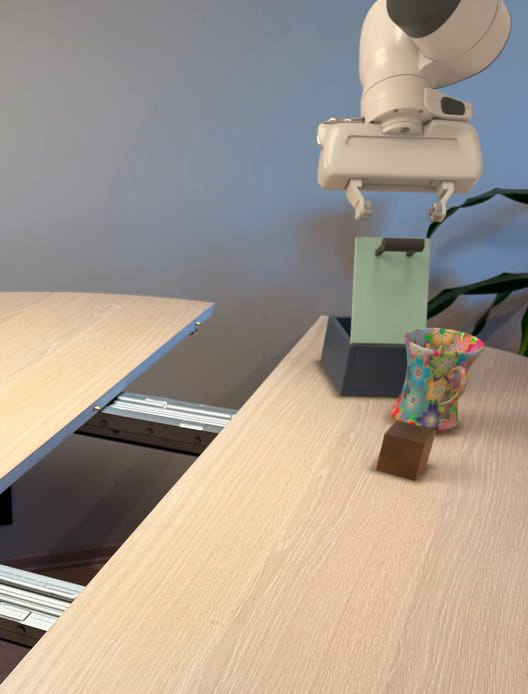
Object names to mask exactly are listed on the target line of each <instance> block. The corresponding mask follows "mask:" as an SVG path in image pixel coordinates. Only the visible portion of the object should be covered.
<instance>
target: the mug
mask: <svg viewBox="0 0 528 694" xmlns="http://www.w3.org/2000/svg"><path fill="white" fill-rule="evenodd" d="M404 338H405V344H406V349H407V373H406V379H405V383H404V386H403V389H402V392H401V394H400V396H399V397H397V399H396V400H395V402H394V403H393V404H392V405H391V407H390V410H389V411H390V415H391V417H392V418H393V419H394V420H395V421H397V420H398V421H402V422H406V423H410V424H414V425H418V426H422V427H426V428H430V429H434V430H436V432H438V431H439V432H441V431H446V430H450V429H453V428H455V427H457V425H459V423H460V421H461V417H460V414H459V399H460V397H461V396H462V395H463V394H464V392H465V391H466V388H467V385H468V373H469V371H470V369H471V367H472V366H473V364H474V363H475V361H476V360H477V359H478V357H479V356H480V355H481V354H482V352H483V351H484V349H485V343H484V342H483V340H482V339H480V338H478V337H477V336H474V335H472V334H469V333H467V332H464V331H460V330H455V329H449V328H440V327H426V328H419V329H414V330H411V331H409V332H407V333H406V335H405V337H404Z"/></svg>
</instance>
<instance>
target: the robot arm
mask: <svg viewBox="0 0 528 694" xmlns="http://www.w3.org/2000/svg"><path fill="white" fill-rule="evenodd" d="M511 31H512V16H511V13H510V11H509V10H508V8H507V6H506V4H505V3H504V1H503V0H376V1H375V2H374V3H373V4H372V6H371V7H370V8H369V10H368V12H367V13H366V16H365V18H364V20H363V23H362V27H361V31H360V36H359V44H358V45H359V47H358V76H359V82H360V84H361V87H362V92H361V97H360V102H359V107H360V109H359V112H360V117H339V116H332V117H329V118H328V119H327V120H324V121H322V122H321V123H319V124H318V126H317V128H316V144H317V146H318V147H319V149H320V152H319V158H318V164H317V177H316V179H317V180H316V181H317V184H318V185H319V186H320V187H321V189H323V190H324V191H345V197H346V199H347V200H348V202H349V203H350V205H351V206H352V207H353V208H354V213H355V215H354V216H355V220H357V221H369V218H370V217H371V215H372V200H368V199H367V200H366V199H365V198H364V196H363V194H362V193H361V192H386V193H387V192H388V193H425V194H426V193H427V194H436V199H437V200H440V201H439V202H438V201H434V202H433V203H432V205H431V207H429V210H428V216H429V218H428V222H430V223H433V222H434V223H442V222H443V220H445V218H446V215H447V202H448V201H449V199H450V198H451V196H452V194H459V195H460V194H461V195H462V194H463V195H465V194H467V193H469V192H470V191H471V190H472V189H473V188H474V187H475V186H476V184H477V183H478V182H479V180H480V178H481V177H482V174H483V169H484V167H483V165H484V164H483V154H482V147H481V141H480V136H479V134H478V131H477V129H476V128H475V127H474V126H473V125H472V124H471V123H470V122H471V120H472V117H473V114H474V107H473V105H472V104H471V103H470V102H468V101H465V100H462V99H459V98H456V97H453V96H450V95H447V94H444V93H443V92H441V91H438V89H442V88H446V87H448V86H451V85H454V84H457V83H459V82H460V83H461V82H463V81H466V80H469V79H470V78H473V77H474V76H477V75H479V74H480V73H482V72H484V71H485V70H487V69H488V68H489V67H490V66H491V65H492V64H493V63H495V61H496V60H497V59H498V57H500V55H501V54H502V52H503V50H504V49H505V47H506V45H507V43H508V40H509V37H510V34H511Z"/></svg>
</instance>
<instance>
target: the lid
mask: <svg viewBox="0 0 528 694" xmlns="http://www.w3.org/2000/svg"><path fill="white" fill-rule="evenodd" d="M431 243H432V239H431V238H416V237H384V236H383V237H379V236H378V237H377V236H371V237H370V236H356V237H355V238H354V256H353V259H354V260H353V275H352V276H353V280H352V298H351V301H352V302H351V316H352V319H351V340H350V344H383V345H406V344H405V338H404V337H405V335H406V333H407V332H409V331H411V330H414V329H419V328H427V321H428V319H427V318H428V301H429V281H430V280H429V279H430V263H431V262H430V261H431Z"/></svg>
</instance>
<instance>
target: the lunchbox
mask: <svg viewBox="0 0 528 694" xmlns="http://www.w3.org/2000/svg"><path fill="white" fill-rule="evenodd" d="M351 319H352V315H330V314H329V315H328V318H327V323H326V329H325V334H324V340H323V344H322V349H321V350H322V351H321V354H320V361H319V363H320V365H321V367H322V368H323V370H324V371H325V373H326V375H327V376H328V378H329V380H330V381H331V383H332V384H333V386H334V387H335V389H336V391H337V393H338V394H339V396H340V397H371V398H373V397H377V398H399V396H400V394H401V392H402V389H403V386H404V383H405V379H406V373H407V349H406V345H383V344H350V340H351Z"/></svg>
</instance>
